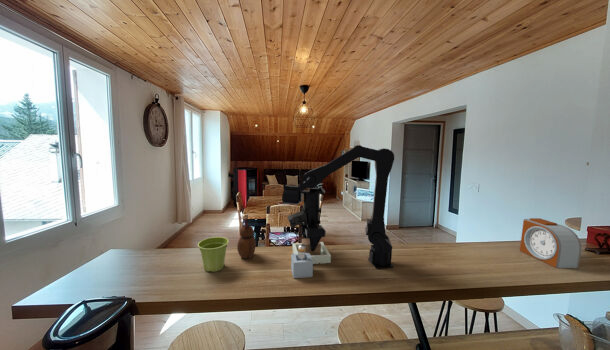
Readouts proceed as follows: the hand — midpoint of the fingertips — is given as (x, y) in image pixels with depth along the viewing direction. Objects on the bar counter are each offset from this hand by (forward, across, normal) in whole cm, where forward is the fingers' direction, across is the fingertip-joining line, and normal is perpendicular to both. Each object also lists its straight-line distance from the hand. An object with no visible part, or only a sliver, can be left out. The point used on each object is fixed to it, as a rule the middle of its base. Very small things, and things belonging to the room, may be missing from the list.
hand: (310, 247), depth 88 cm
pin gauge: (+4, +11, -5) cm, 13 cm away
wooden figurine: (+4, -3, -23) cm, 24 cm away
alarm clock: (+4, +13, +87) cm, 88 cm away
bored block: (+4, +11, -5) cm, 13 cm away
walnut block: (+3, 0, 0) cm, 3 cm away
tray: (+4, 0, 0) cm, 4 cm away
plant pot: (+4, +4, -33) cm, 34 cm away
